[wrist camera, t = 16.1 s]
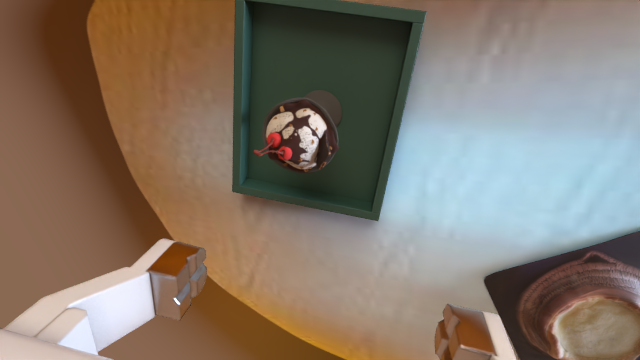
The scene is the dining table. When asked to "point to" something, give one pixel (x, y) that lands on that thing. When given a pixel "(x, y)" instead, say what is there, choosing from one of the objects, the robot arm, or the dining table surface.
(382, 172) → the serving tray
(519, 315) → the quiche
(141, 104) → the dining table surface
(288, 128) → the sundae
